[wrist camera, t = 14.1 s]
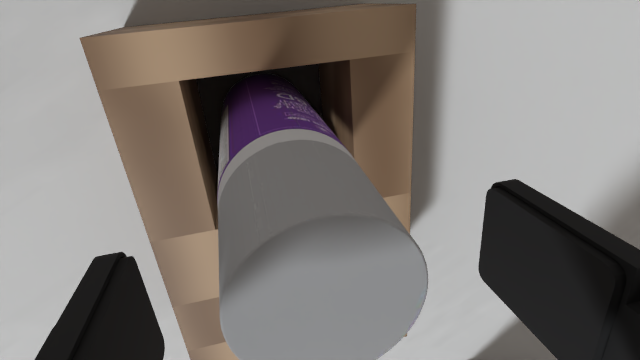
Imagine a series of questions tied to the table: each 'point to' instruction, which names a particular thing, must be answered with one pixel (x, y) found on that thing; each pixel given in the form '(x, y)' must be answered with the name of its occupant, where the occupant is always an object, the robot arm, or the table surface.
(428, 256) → the table surface
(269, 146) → the container
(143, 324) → the robot arm
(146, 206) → the socket block
